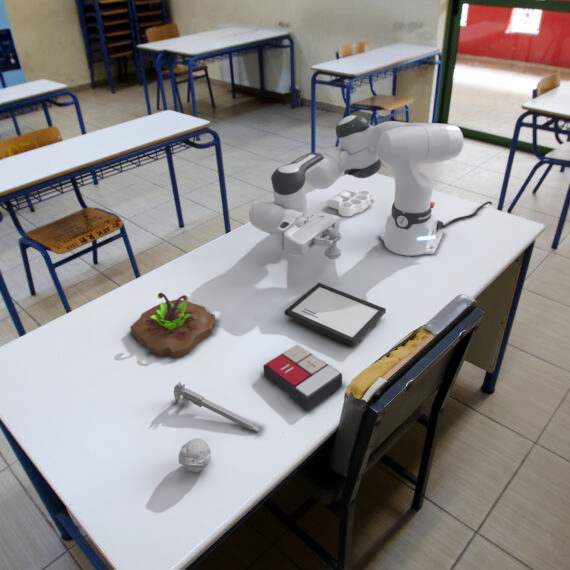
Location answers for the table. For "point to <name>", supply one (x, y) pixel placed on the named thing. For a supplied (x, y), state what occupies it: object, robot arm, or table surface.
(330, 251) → the chess piece
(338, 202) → the white egg carton
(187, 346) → the plant
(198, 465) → the frog figurine
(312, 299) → the whiteboard
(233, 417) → the caliper
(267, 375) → the calculator
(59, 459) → the table surface
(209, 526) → the table surface
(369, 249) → the table surface
